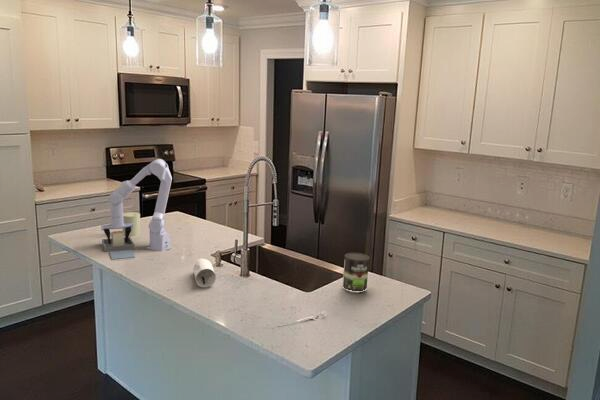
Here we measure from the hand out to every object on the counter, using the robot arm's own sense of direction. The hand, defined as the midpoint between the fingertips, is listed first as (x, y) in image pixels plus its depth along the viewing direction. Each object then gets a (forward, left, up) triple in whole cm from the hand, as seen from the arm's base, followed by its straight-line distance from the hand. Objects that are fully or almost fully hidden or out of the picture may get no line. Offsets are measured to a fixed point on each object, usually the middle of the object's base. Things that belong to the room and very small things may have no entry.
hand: (117, 243), depth 233 cm
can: (+10, -19, -3) cm, 22 cm away
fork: (-110, +26, -3) cm, 113 cm away
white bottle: (-58, +13, -3) cm, 60 cm away
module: (0, 0, -2) cm, 2 cm away
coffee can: (-117, -12, -3) cm, 118 cm away
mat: (-11, +9, -2) cm, 14 cm away
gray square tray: (0, 0, -2) cm, 2 cm away
